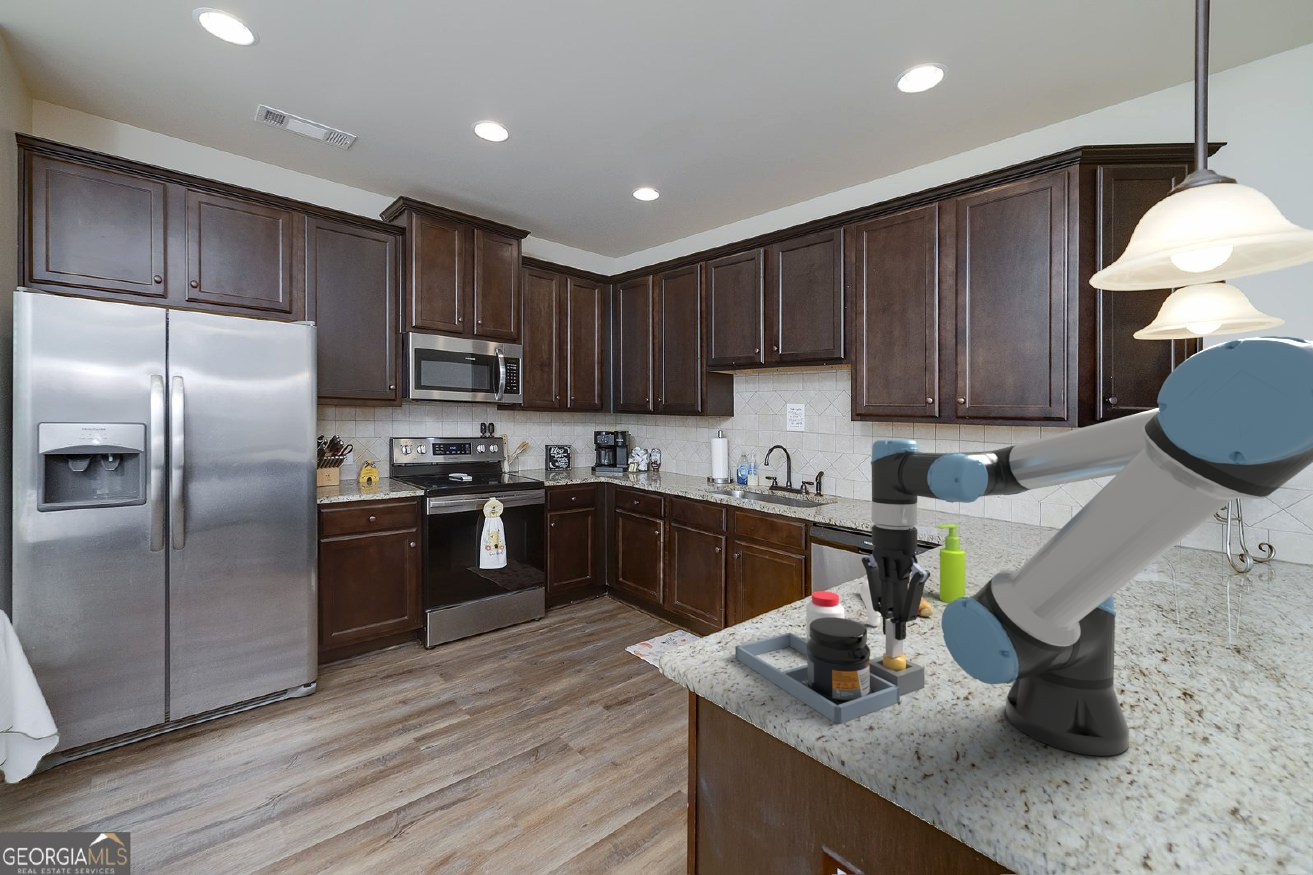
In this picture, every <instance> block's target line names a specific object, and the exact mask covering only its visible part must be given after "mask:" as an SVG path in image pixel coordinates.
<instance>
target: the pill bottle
mask: <svg viewBox="0 0 1313 875" xmlns="http://www.w3.org/2000/svg"><path fill="white" fill-rule="evenodd" d="M805 608H806V609H805V610H806V611H805V614H806V617H805V618H806V621H805V625H806V626H805V627H806V631H805V632H806V636H805V638H806V639H805V640H806V641H808V639H809V638H810V635H809V625H810V623H811V622H812V621H813V620H816V619H819V618H826V617H835V618H844V619H846V615H845V611H846V610H845V607H844V606H843V605H842V604H841V603H840V597H839V594H837V593H835V592H832V591H827V590H825V591H824V590H818V591H814V592H812V593H811V600H810V601H809V602H808V603H807V604H806V607H805Z"/></svg>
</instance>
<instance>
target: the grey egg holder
mask: <svg viewBox="0 0 1313 875" xmlns="http://www.w3.org/2000/svg"><path fill="white" fill-rule="evenodd" d="M870 673H872V674H874V675H876V676H878V677H880V678H882V679H884V680H886V681H888V682H890V683H892V684H894V685H896V686H898V687H900V697H901V696H904V695H907V694H909V693H912V692H914V691H918V690H920V689H924V688H925V667H924V666H921V665H919V664H916V663H914V662H912V661H910V660H908V659H906V669H904V670H901V671H898V672H895V671H893V670H891V669H889V668H887V667H885V666H883V655H880V656H877V657H873V658H871V659H870Z"/></svg>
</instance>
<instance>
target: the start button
mask: <svg viewBox="0 0 1313 875" xmlns="http://www.w3.org/2000/svg"><path fill="white" fill-rule="evenodd" d="M882 656H883V666H885V667H887V668H889V669H891V670H893V671H895V672H898V671H901V670H904V669H906V660H907V657H906V656H905V655H904V654H903V655H901V656H898V657H895V658H891V657H889V656H887V655H886V652H884V653H882Z"/></svg>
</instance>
